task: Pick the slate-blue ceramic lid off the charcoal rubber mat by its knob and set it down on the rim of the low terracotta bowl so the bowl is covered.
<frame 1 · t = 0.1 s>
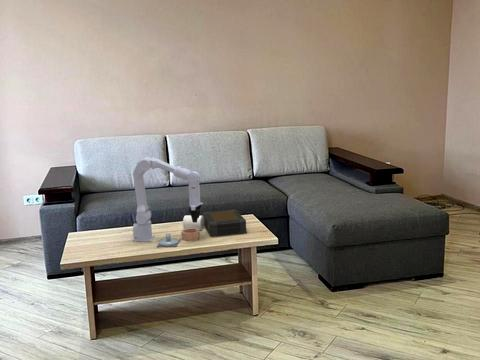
hand: (195, 220, 262), 10 cm above the table, tool pointing down, fingers open, 7 cm apart
cash box: (224, 229, 279), on the table
lid: (168, 242, 257), point 1 cm above the table, touching mat
bowl: (190, 237, 265), on the table
mug: (195, 228, 282), on the table
mat: (168, 243, 257), on the table
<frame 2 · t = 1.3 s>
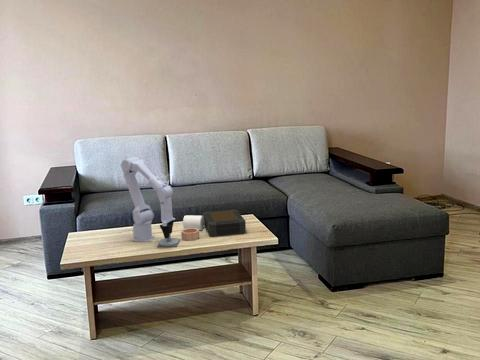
hand: (168, 235, 256), 4 cm above the table, tool pointing down, fingers open, 7 cm apart
nothing on the table moved.
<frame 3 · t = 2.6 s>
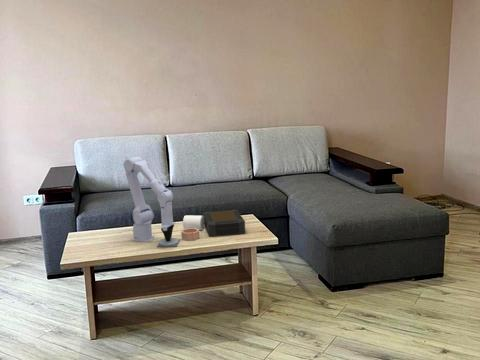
hand: (168, 240, 257), 2 cm above the table, tool pointing down, fingers closed on lid, 2 cm apart
lid: (168, 242, 257), point 1 cm above the table, touching gripper, mat
everything else where it was.
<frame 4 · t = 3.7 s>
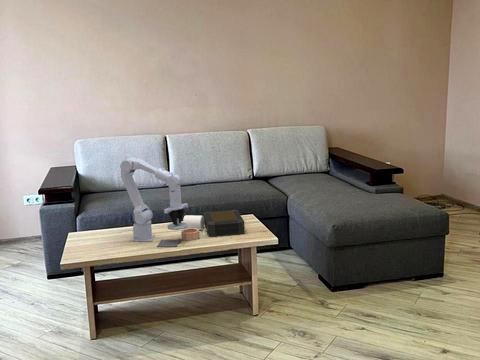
hand: (177, 223, 258), 9 cm above the table, tool pointing down, fingers closed on lid, 2 cm apart
lid: (177, 227, 259), point 8 cm above the table, touching gripper
everything else where it was.
when the fingers open (7 cm above the table, at t = 4.9 s): lid stays where it is, resting on bowl.
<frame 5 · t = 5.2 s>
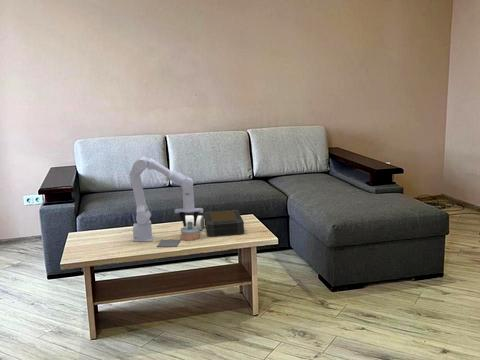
hand: (190, 225, 264), 7 cm above the table, tool pointing down, fingers open, 5 cm apart
lid: (190, 230, 265), point 4 cm above the table, touching bowl
everything else where it was.
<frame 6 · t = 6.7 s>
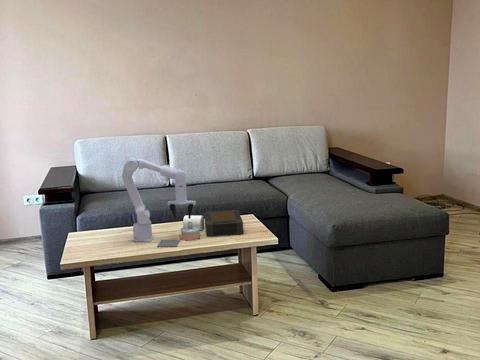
hand: (182, 218, 266), 10 cm above the table, tool pointing down, fingers open, 7 cm apart
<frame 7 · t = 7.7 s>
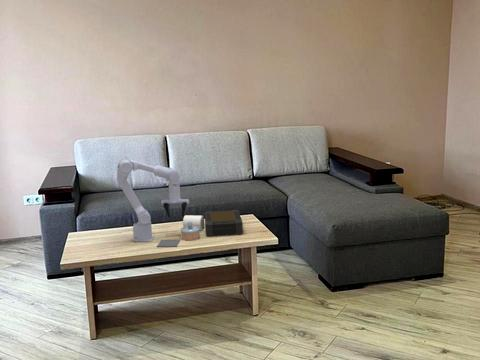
hand: (176, 216, 268), 10 cm above the table, tool pointing down, fingers open, 7 cm apart
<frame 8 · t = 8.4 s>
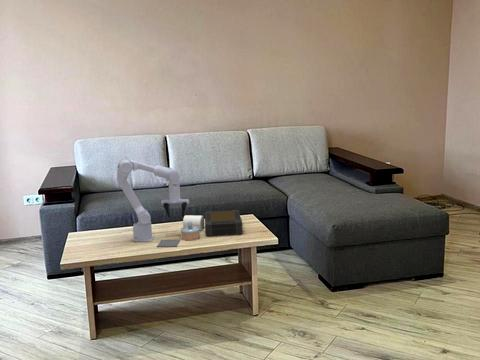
hand: (176, 216, 268), 10 cm above the table, tool pointing down, fingers open, 7 cm apart
nothing on the table moved.
at the end: lid 0.2 cm off-centre on the bowl, point 4.0 cm above the bowl's base; lid tilted 0°; the gripper is holding nothing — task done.
